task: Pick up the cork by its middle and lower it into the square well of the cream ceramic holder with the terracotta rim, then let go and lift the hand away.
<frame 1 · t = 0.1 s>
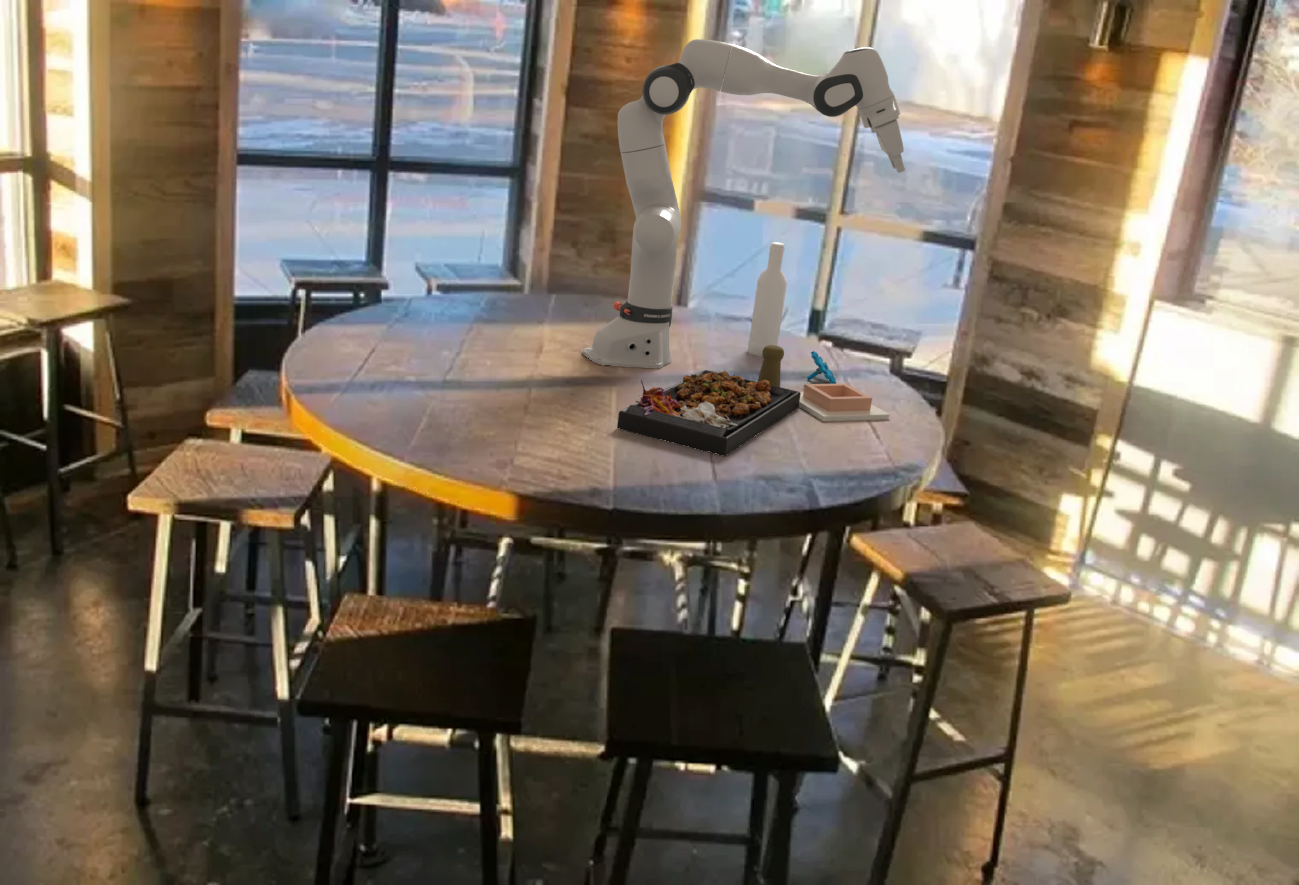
hand: (899, 169, 293), 54 cm above the table, tool tilted 30°, fingers open, 8 cm apart
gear: (821, 382, 311), on the table
cork: (767, 390, 298), on the table
food platter: (712, 421, 272), on the table
holder: (835, 408, 289), on the table
bottle: (761, 354, 332), on the table
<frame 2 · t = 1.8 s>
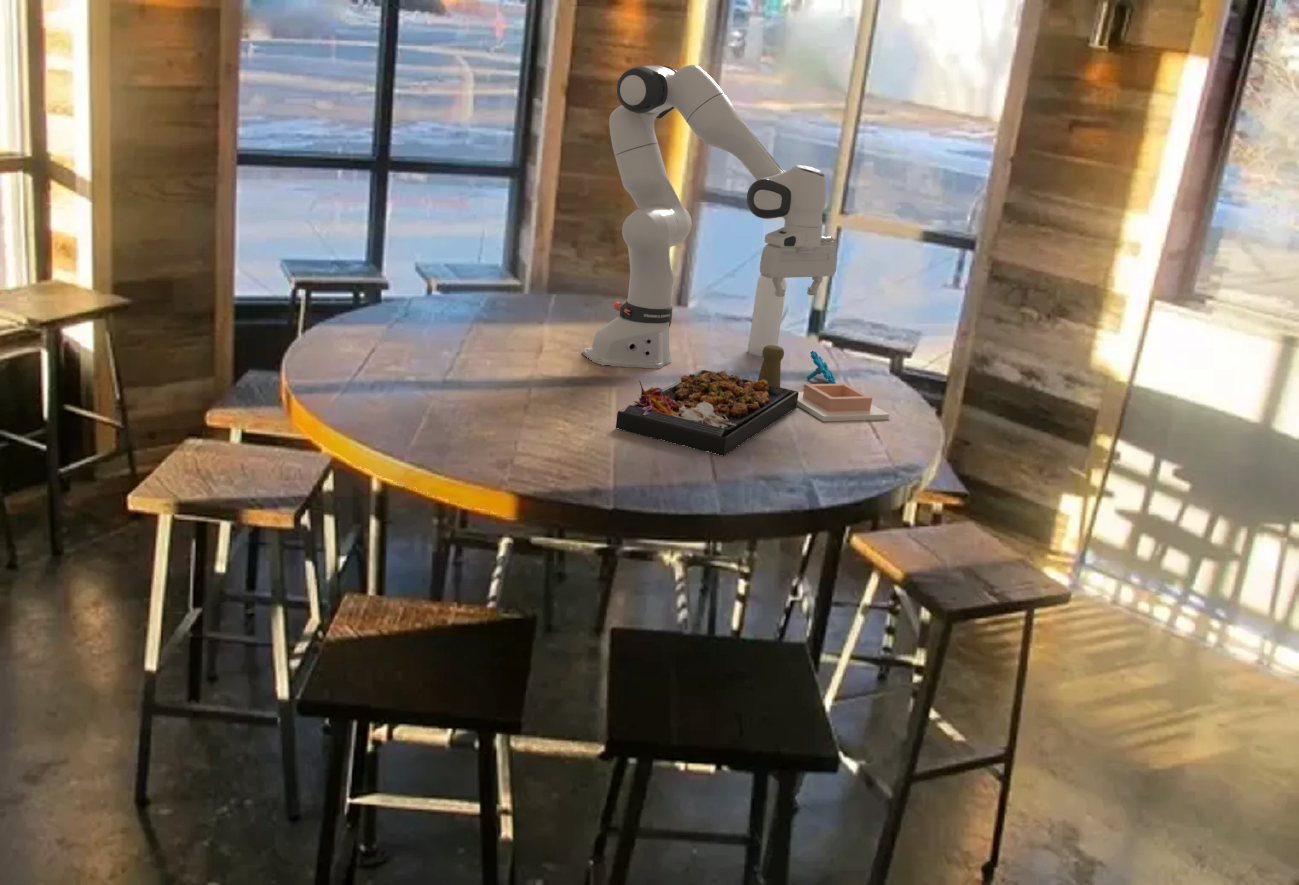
hand: (795, 295, 290), 24 cm above the table, tool pointing down, fingers open, 8 cm apart
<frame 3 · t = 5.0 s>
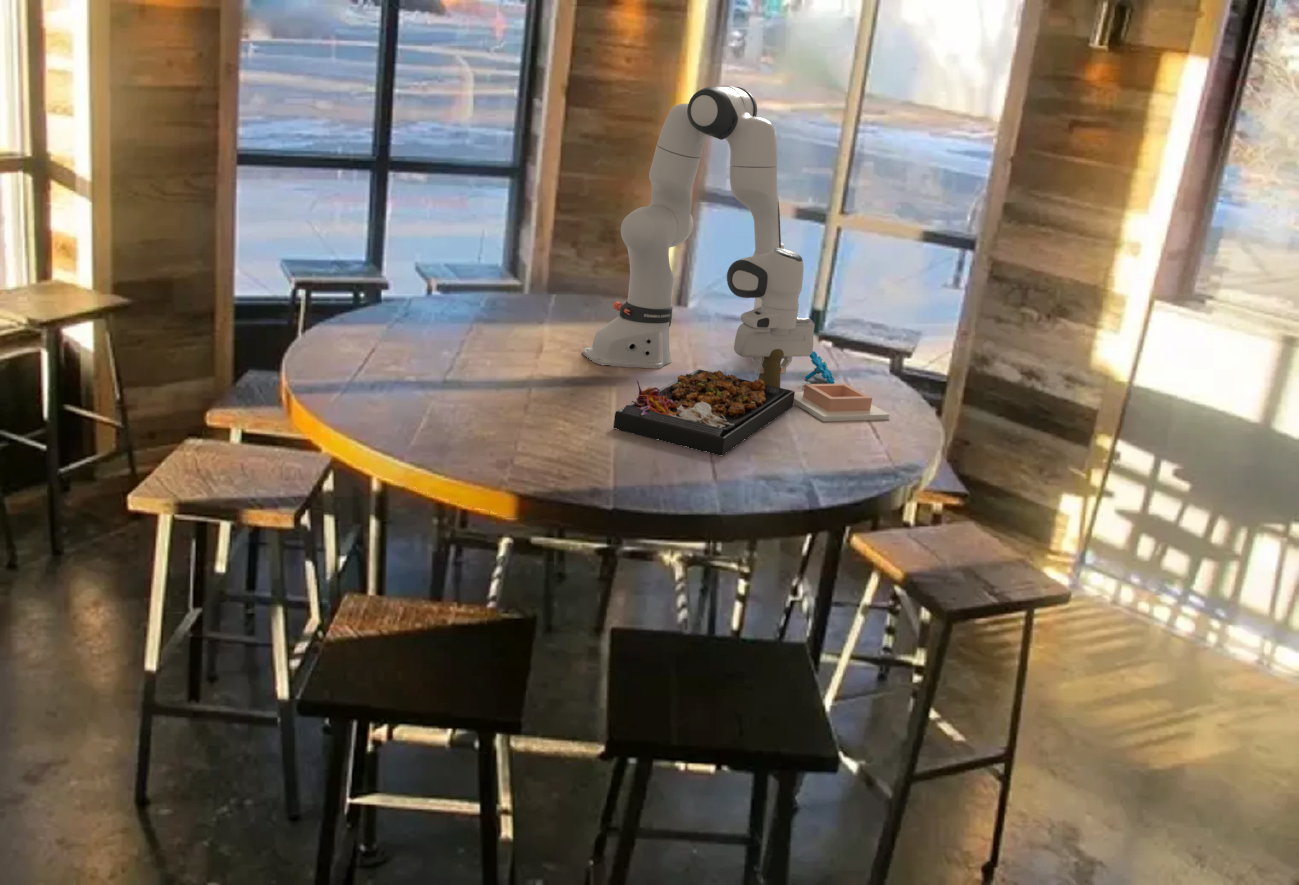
hand: (770, 373, 296), 4 cm above the table, tool pointing down, fingers closed on cork, 5 cm apart
cork: (767, 390, 298), on the table, touching gripper
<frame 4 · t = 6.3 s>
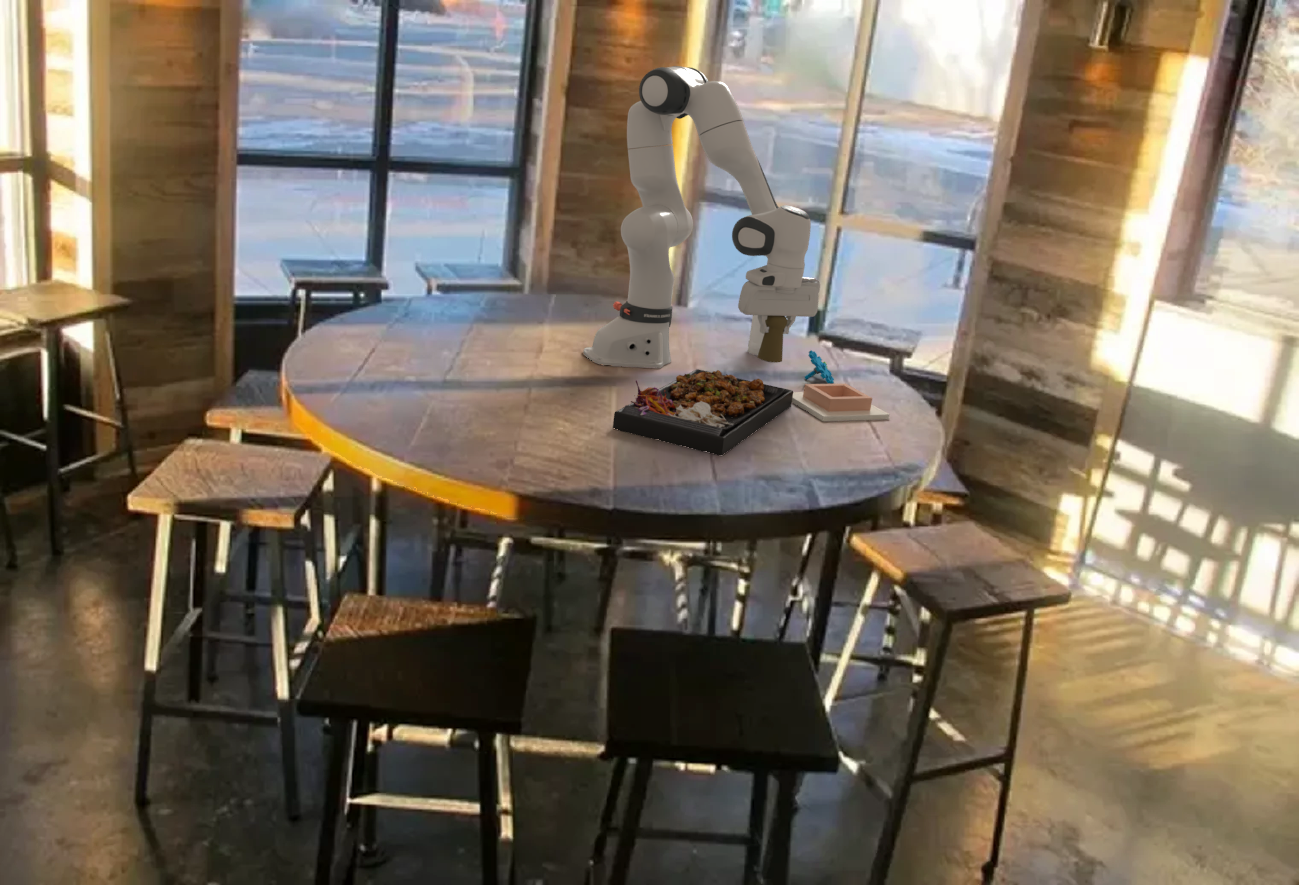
hand: (773, 333, 293), 14 cm above the table, tool pointing down, fingers closed on cork, 4 cm apart
cork: (769, 359, 296), point 7 cm above the table, touching gripper
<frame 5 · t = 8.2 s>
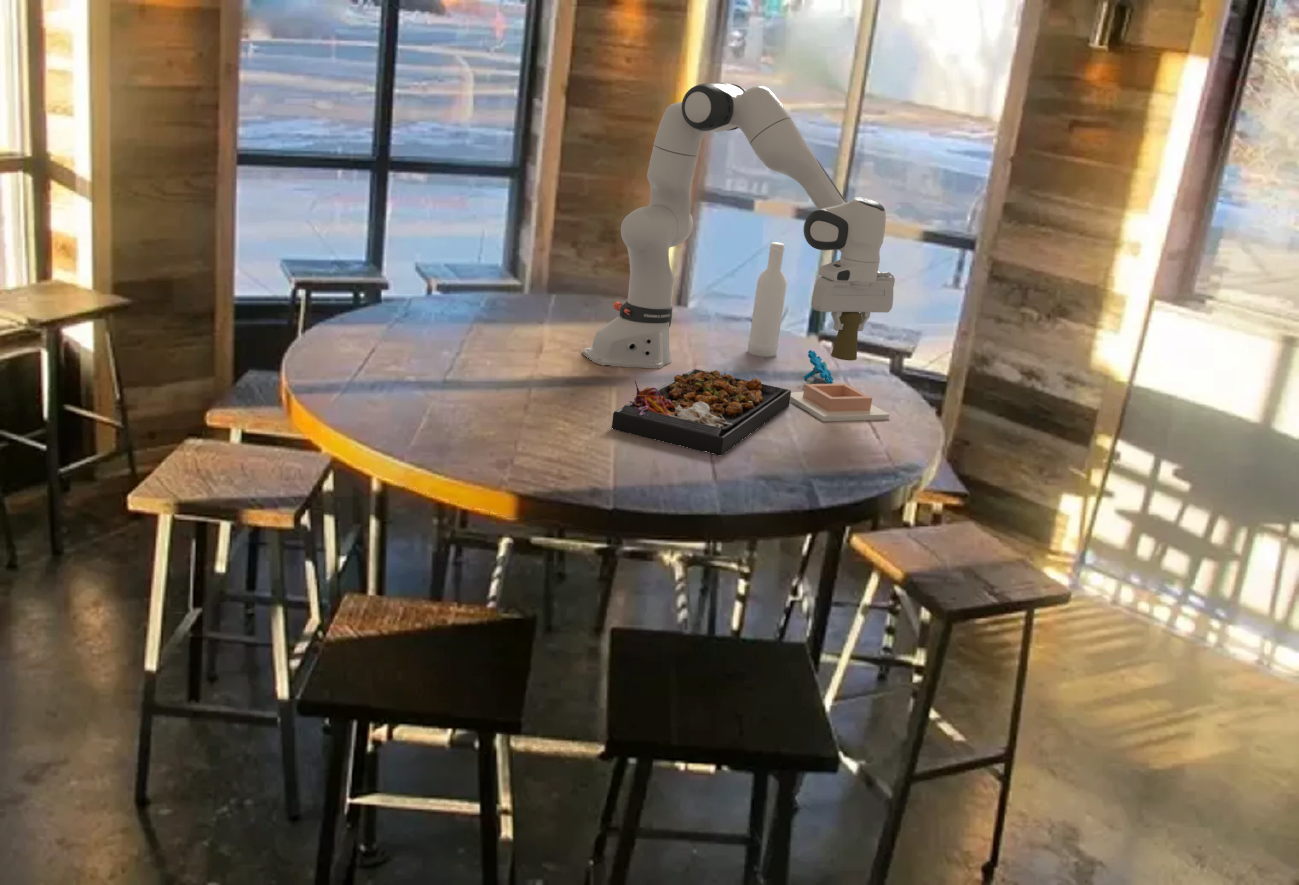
hand: (848, 330, 283), 19 cm above the table, tool pointing down, fingers closed on cork, 4 cm apart
cork: (843, 357, 285), point 12 cm above the table, touching gripper
when the fingers open (7 cm above the table, at t = 11.1 s): cork stays where it is, resting on holder.
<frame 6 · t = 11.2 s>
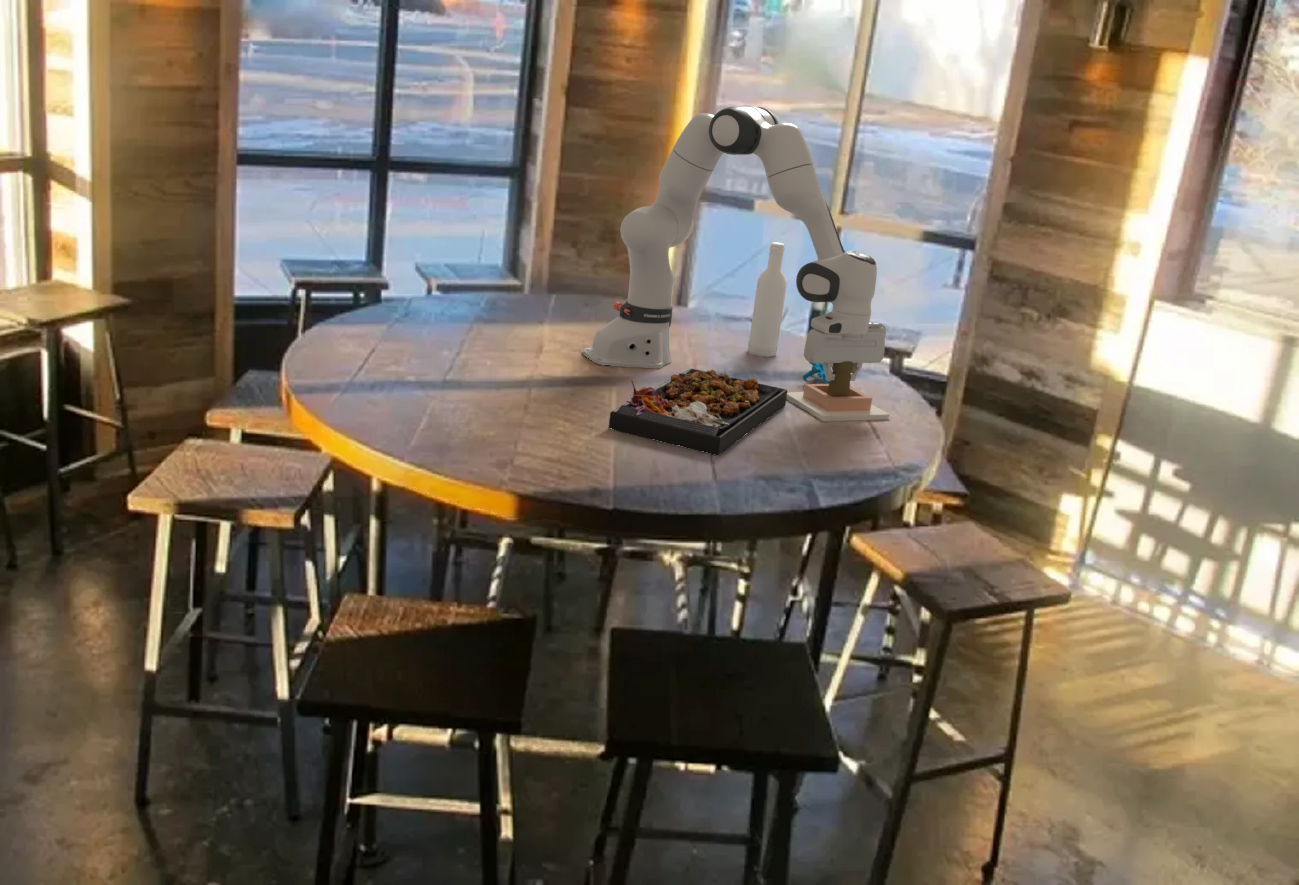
hand: (840, 380, 287), 7 cm above the table, tool pointing down, fingers open, 4 cm apart
cork: (836, 404, 289), point 1 cm above the table, touching holder
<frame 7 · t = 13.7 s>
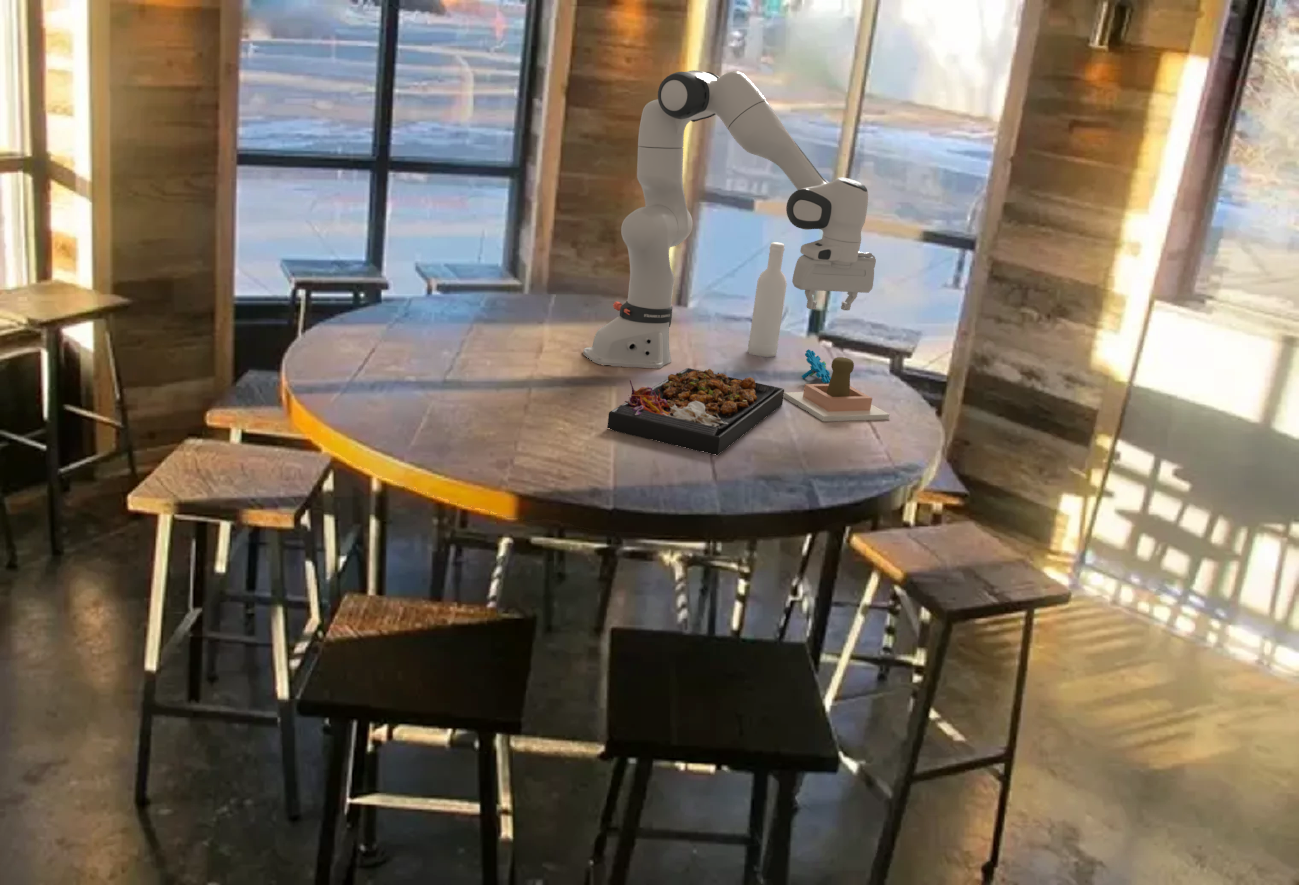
hand: (828, 309, 286), 22 cm above the table, tool pointing down, fingers open, 8 cm apart
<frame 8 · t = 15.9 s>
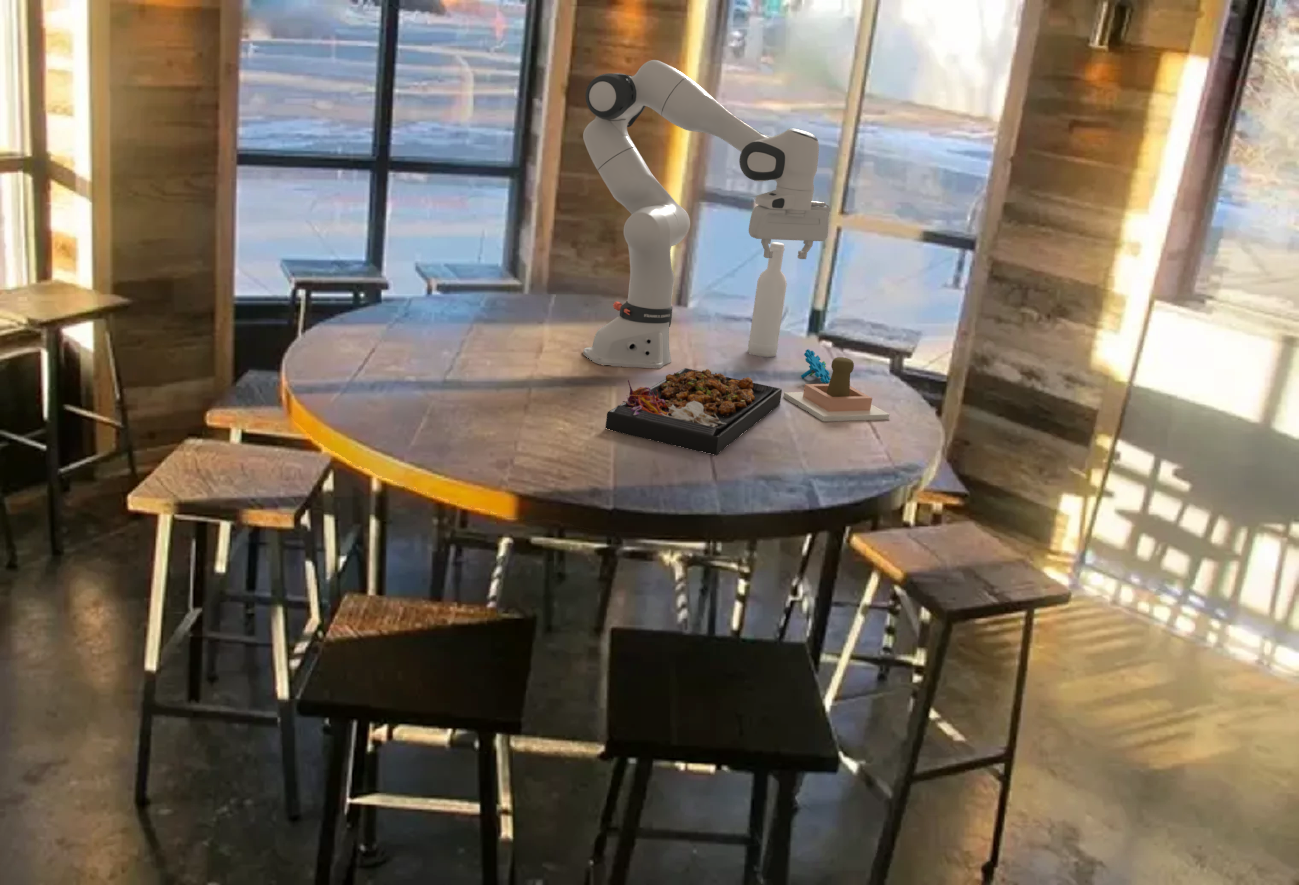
hand: (784, 258, 294), 31 cm above the table, tool pointing down, fingers open, 8 cm apart
at the end: cork 0.0 cm off-centre on the holder, point 1.0 cm above the holder's base; cork tilted 0°; the gripper is holding nothing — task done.
